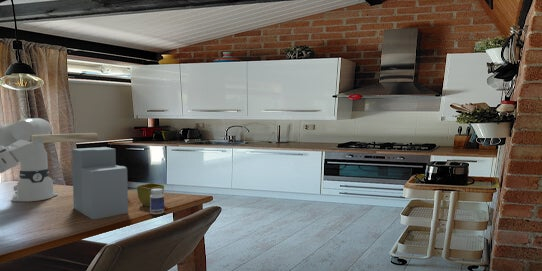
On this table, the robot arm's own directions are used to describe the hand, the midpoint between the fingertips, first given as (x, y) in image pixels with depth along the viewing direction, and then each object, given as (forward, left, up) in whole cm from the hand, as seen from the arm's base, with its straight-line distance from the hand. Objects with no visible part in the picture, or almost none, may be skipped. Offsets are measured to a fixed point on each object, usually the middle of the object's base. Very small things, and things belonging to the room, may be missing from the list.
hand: (40, 137), depth 144 cm
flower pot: (+12, +40, -32) cm, 53 cm away
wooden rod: (0, +9, -2) cm, 9 cm away
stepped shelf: (+6, +20, -32) cm, 38 cm away
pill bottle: (+26, +36, -32) cm, 54 cm away
